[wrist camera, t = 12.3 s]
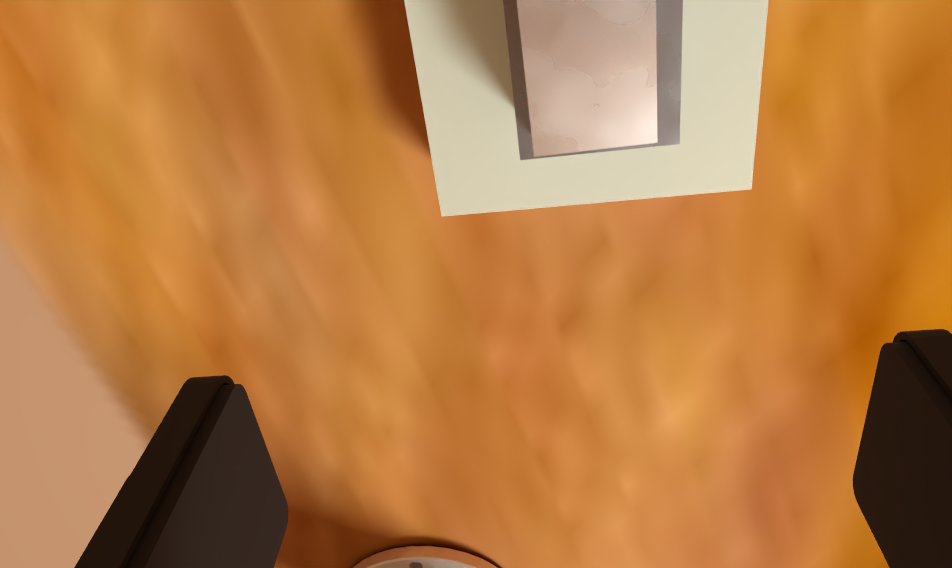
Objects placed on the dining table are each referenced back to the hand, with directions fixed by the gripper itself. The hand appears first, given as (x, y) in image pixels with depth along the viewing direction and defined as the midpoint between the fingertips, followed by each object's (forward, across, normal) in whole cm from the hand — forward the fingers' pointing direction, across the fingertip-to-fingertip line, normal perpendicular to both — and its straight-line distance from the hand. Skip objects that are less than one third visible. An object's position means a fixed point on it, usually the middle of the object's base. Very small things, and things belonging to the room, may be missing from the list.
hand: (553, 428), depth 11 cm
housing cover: (+14, -2, -4) cm, 14 cm away
